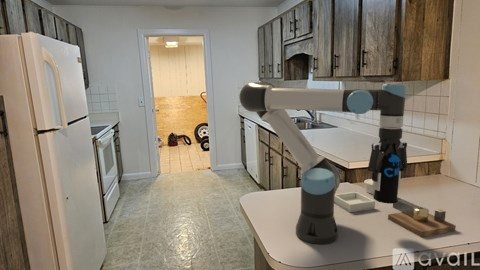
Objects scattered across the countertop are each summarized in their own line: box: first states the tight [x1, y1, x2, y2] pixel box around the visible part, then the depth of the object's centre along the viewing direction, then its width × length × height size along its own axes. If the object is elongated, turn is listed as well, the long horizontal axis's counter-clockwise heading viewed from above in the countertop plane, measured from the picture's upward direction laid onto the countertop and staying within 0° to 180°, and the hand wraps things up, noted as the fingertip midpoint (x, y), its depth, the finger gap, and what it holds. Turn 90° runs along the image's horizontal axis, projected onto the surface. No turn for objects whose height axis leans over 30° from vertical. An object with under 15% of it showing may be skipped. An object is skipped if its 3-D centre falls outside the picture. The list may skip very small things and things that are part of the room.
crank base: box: [387, 208, 457, 238], centre depth 119 cm, size 16×16×6 cm
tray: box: [334, 191, 376, 214], centre depth 139 cm, size 13×13×4 cm
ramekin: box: [363, 178, 375, 195], centre depth 156 cm, size 11×11×5 cm
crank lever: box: [392, 196, 430, 222], centre depth 124 cm, size 16×5×4 cm, turn 17°
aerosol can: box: [373, 153, 401, 205], centre depth 112 cm, size 8×8×20 cm
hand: (386, 188), depth 113 cm, fingers closed on aerosol can, 8 cm apart
